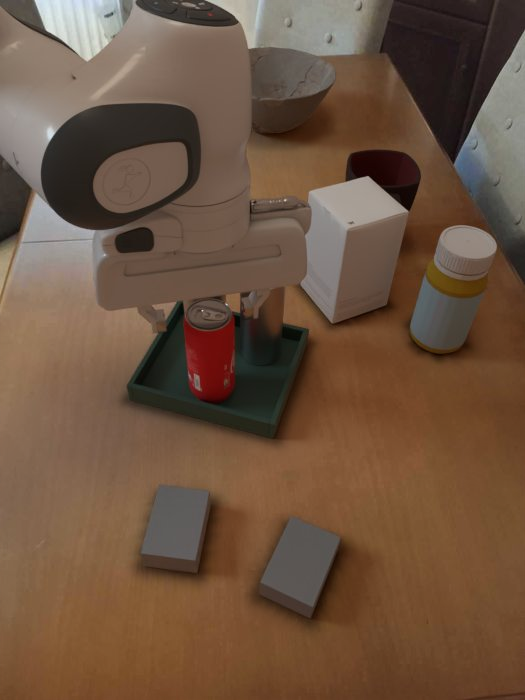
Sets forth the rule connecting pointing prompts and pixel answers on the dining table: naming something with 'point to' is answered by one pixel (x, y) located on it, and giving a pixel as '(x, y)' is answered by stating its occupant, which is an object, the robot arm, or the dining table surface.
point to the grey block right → (299, 566)
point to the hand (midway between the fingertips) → (204, 321)
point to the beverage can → (210, 349)
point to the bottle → (452, 289)
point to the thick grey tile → (176, 529)
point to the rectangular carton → (352, 247)
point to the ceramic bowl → (286, 87)
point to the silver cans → (259, 328)
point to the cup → (387, 173)
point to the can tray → (250, 380)
